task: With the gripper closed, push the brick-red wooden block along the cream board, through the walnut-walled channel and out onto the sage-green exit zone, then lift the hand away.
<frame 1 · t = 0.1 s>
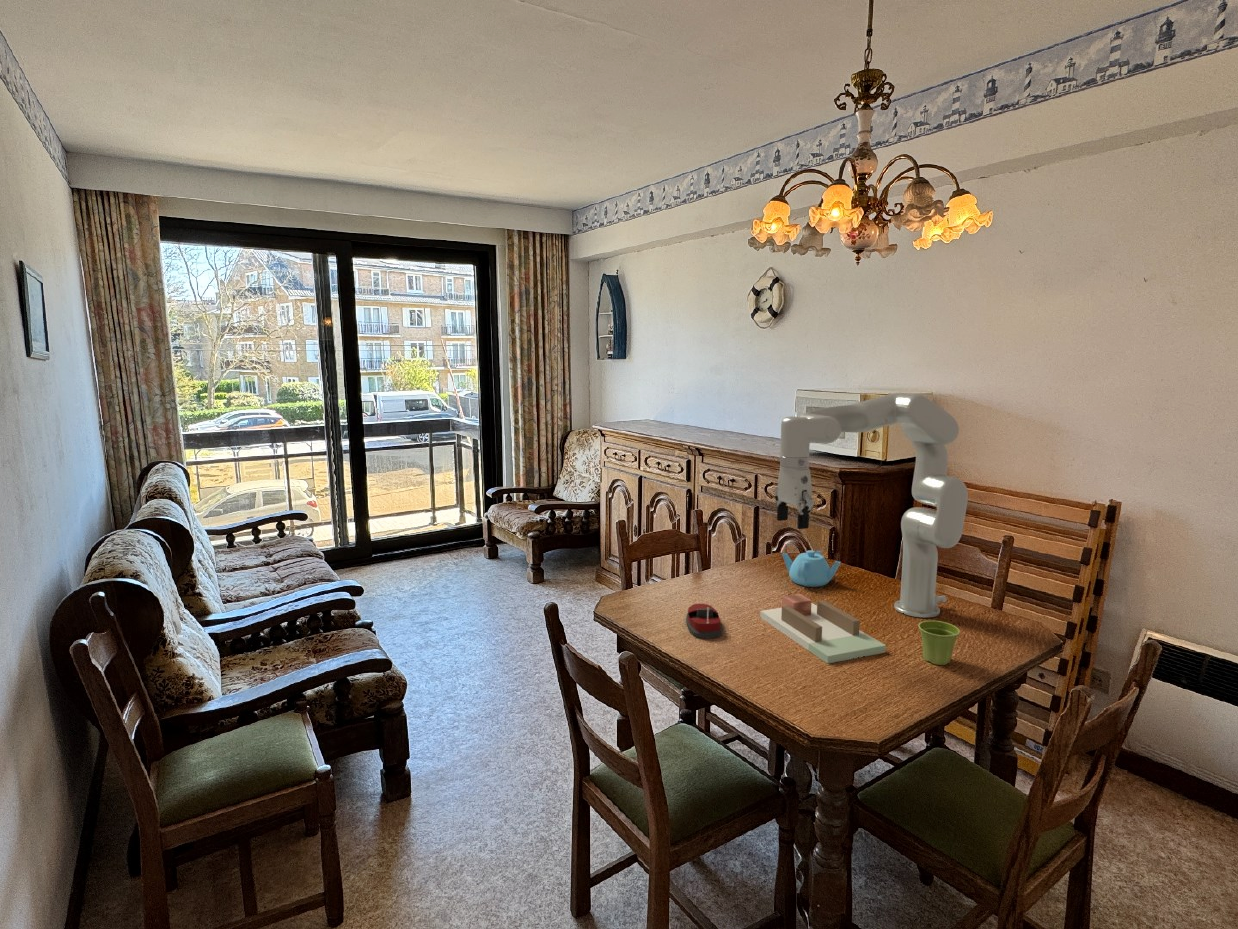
hand: (792, 524, 180), 31 cm above the table, tool pointing down, fingers open, 9 cm apart
board with rails: (818, 633, 184), on the table
bumper car: (704, 629, 189), on the table
block: (796, 612, 194), point 2 cm above the table, touching board with rails
teapot: (810, 581, 227), on the table
plant pot: (936, 660, 167), on the table
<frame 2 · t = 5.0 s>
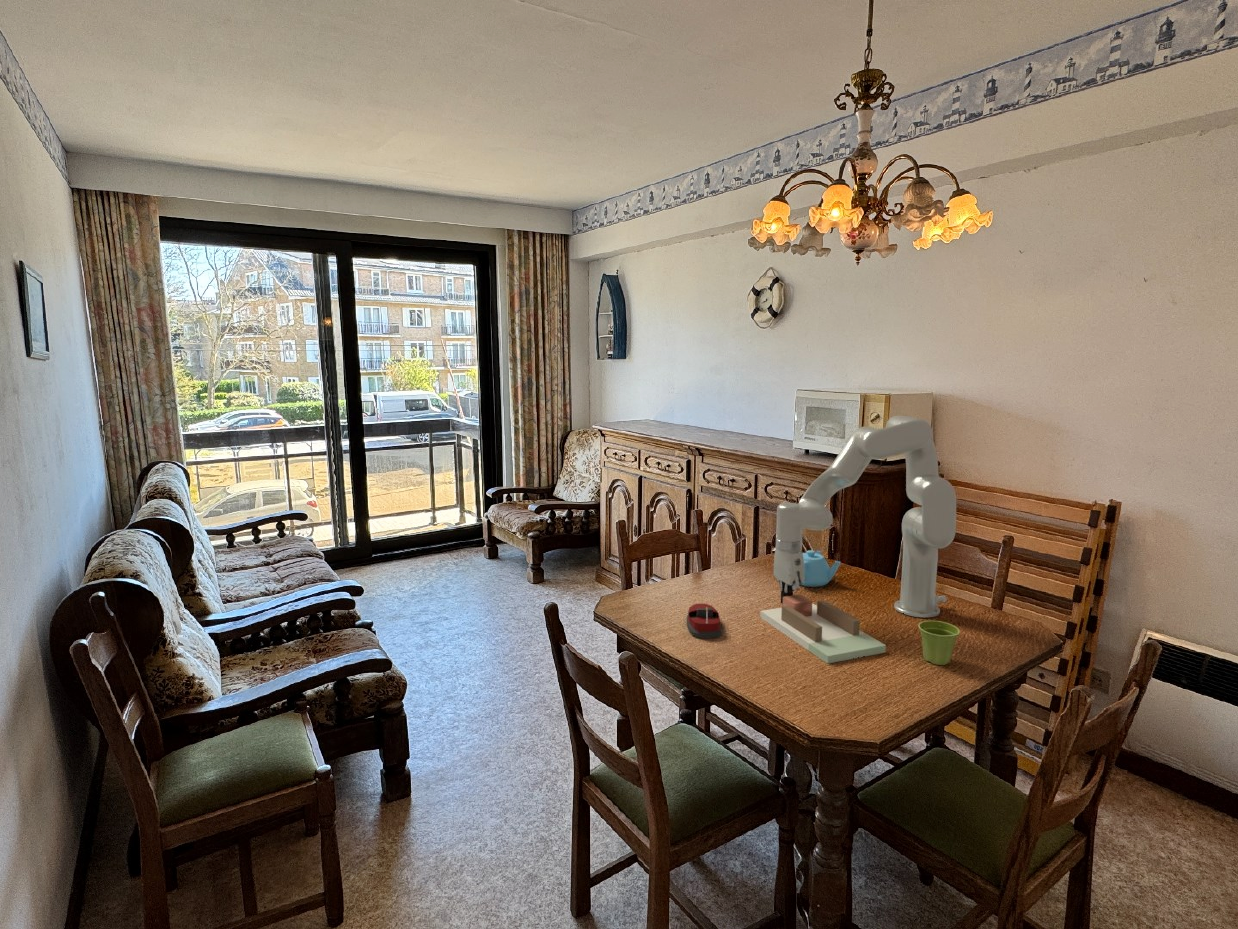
hand: (786, 603, 198), 3 cm above the table, tool pointing down, fingers closed
block: (796, 613, 193), point 2 cm above the table, touching gripper, board with rails
everything else where it was.
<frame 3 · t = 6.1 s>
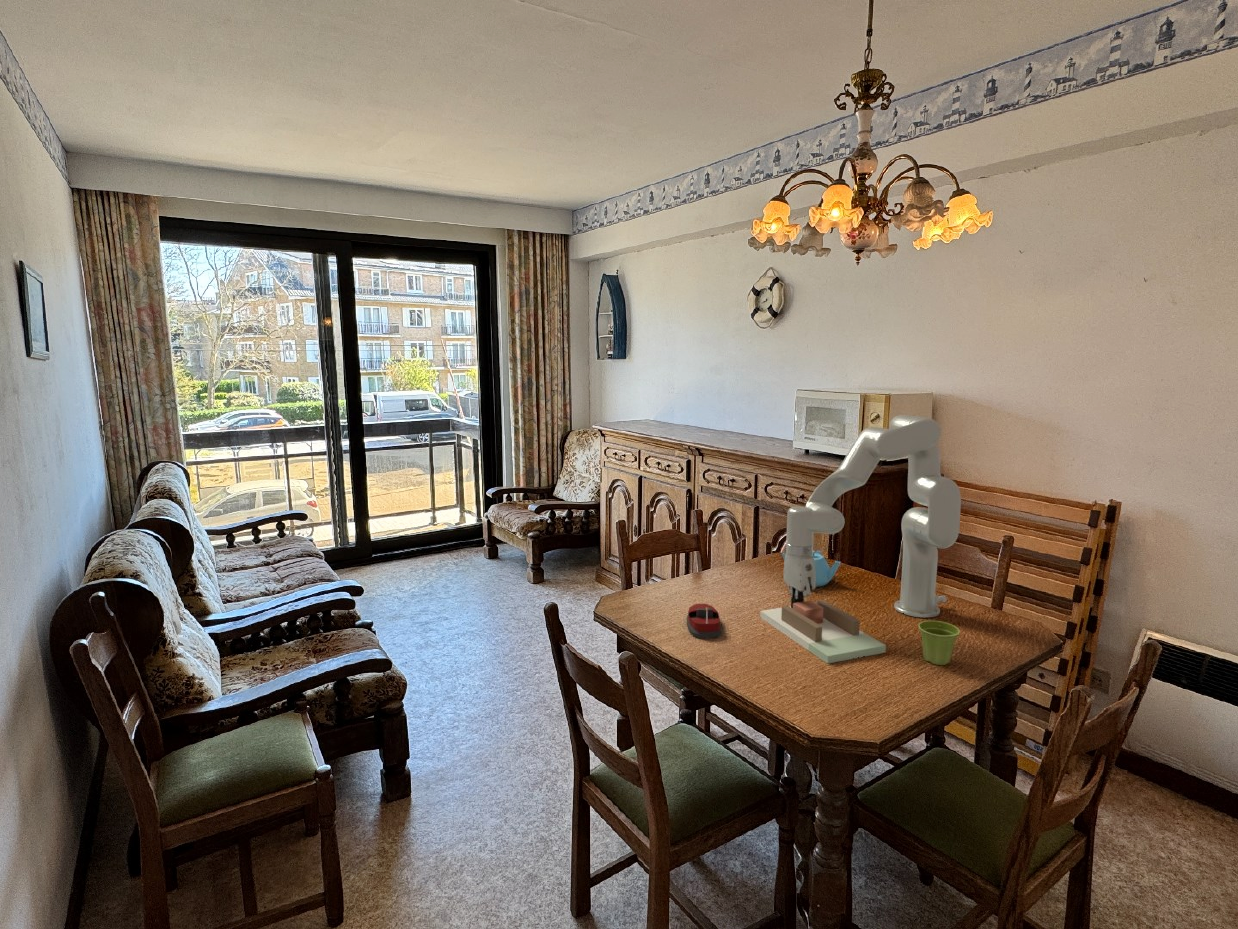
hand: (797, 610, 193), 3 cm above the table, tool pointing down, fingers closed
block: (807, 620, 188), point 2 cm above the table, touching gripper
everything else where it was.
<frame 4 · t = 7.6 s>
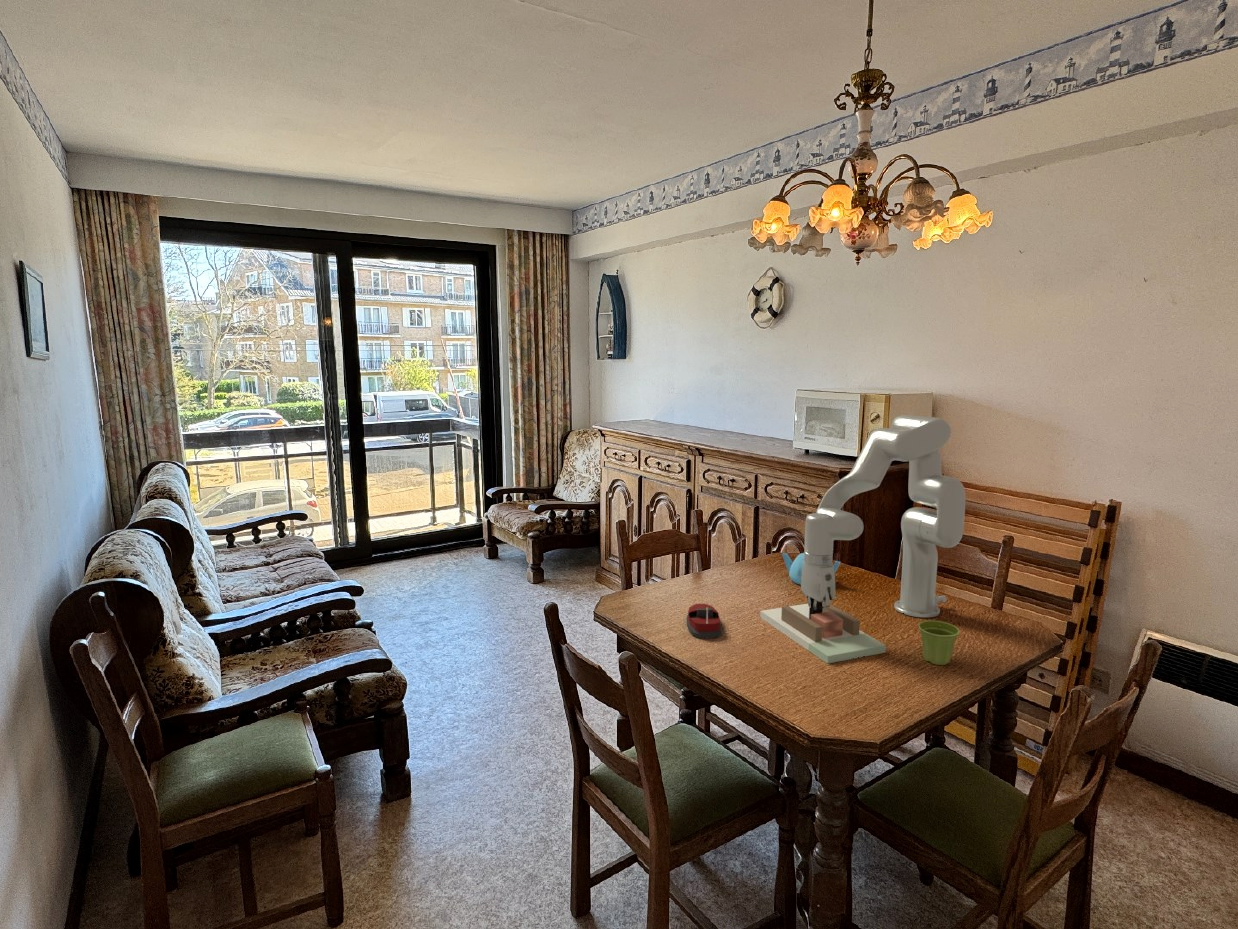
hand: (815, 621, 185), 3 cm above the table, tool pointing down, fingers closed
block: (826, 632, 180), point 2 cm above the table, touching gripper, board with rails
everything else where it was.
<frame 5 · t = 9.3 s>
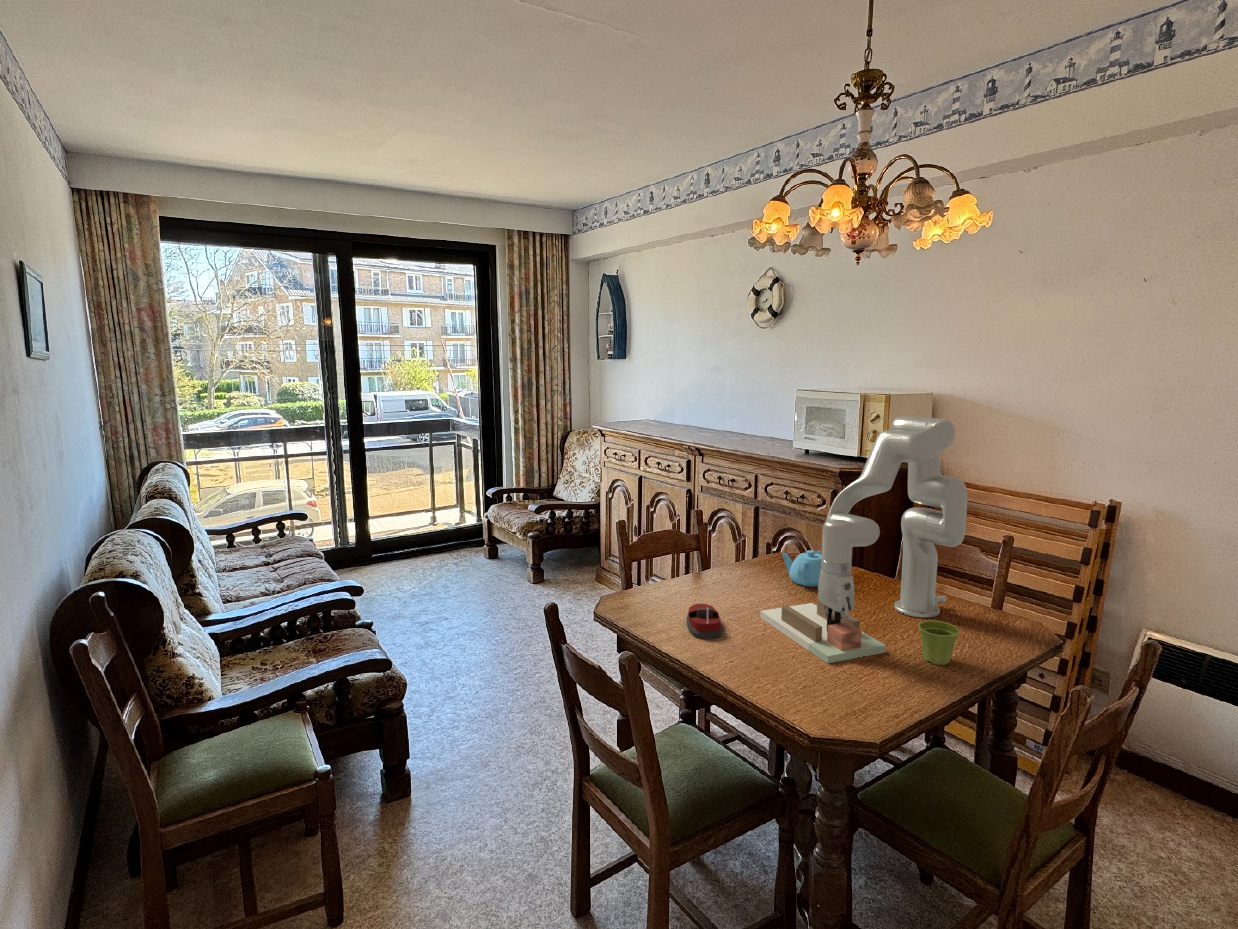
hand: (833, 632, 177), 3 cm above the table, tool pointing down, fingers closed
block: (843, 644, 172), point 2 cm above the table, touching gripper
everything else where it was.
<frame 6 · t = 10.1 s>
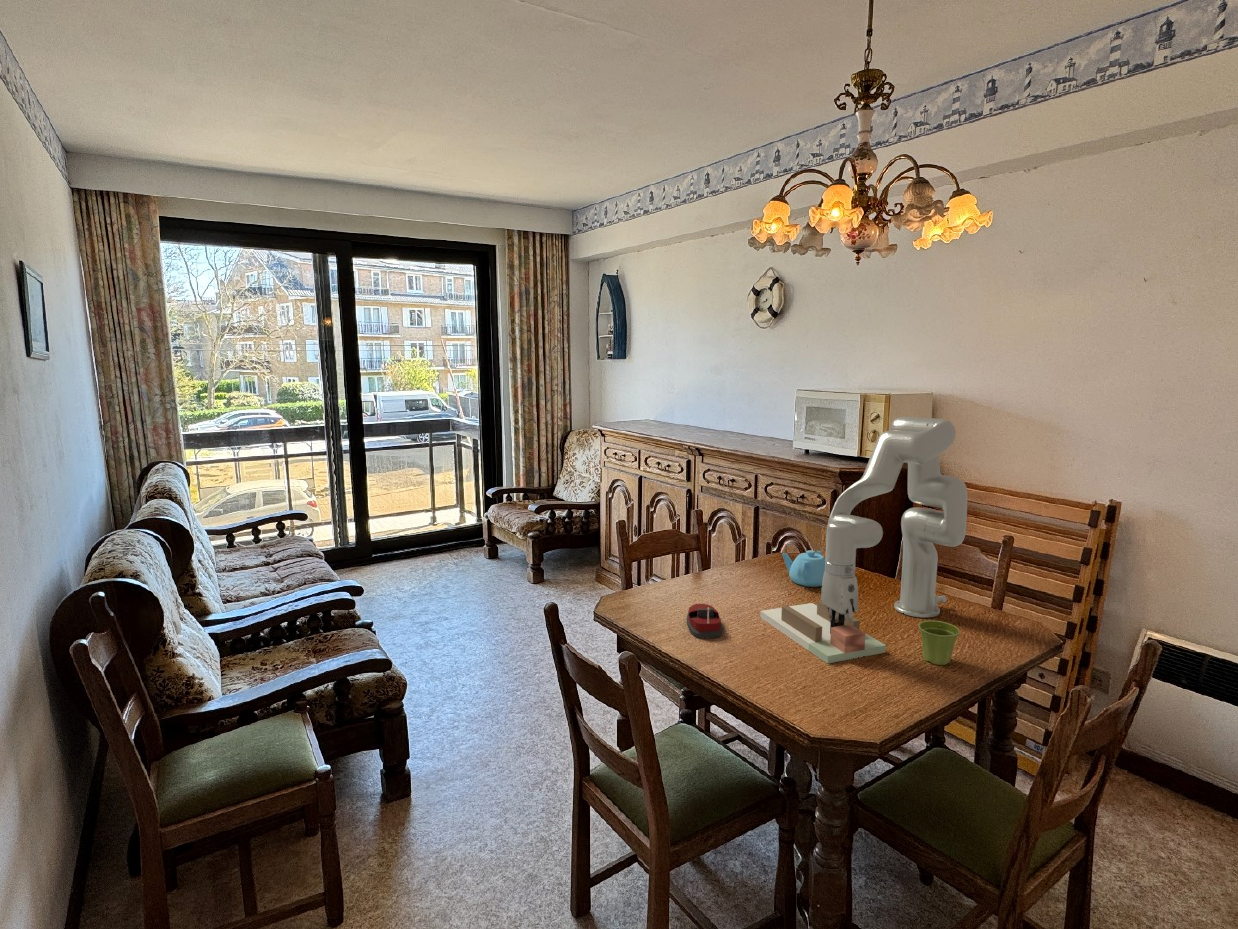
hand: (836, 634, 176), 3 cm above the table, tool pointing down, fingers closed
block: (847, 646, 171), point 2 cm above the table, touching gripper, board with rails
everything else where it was.
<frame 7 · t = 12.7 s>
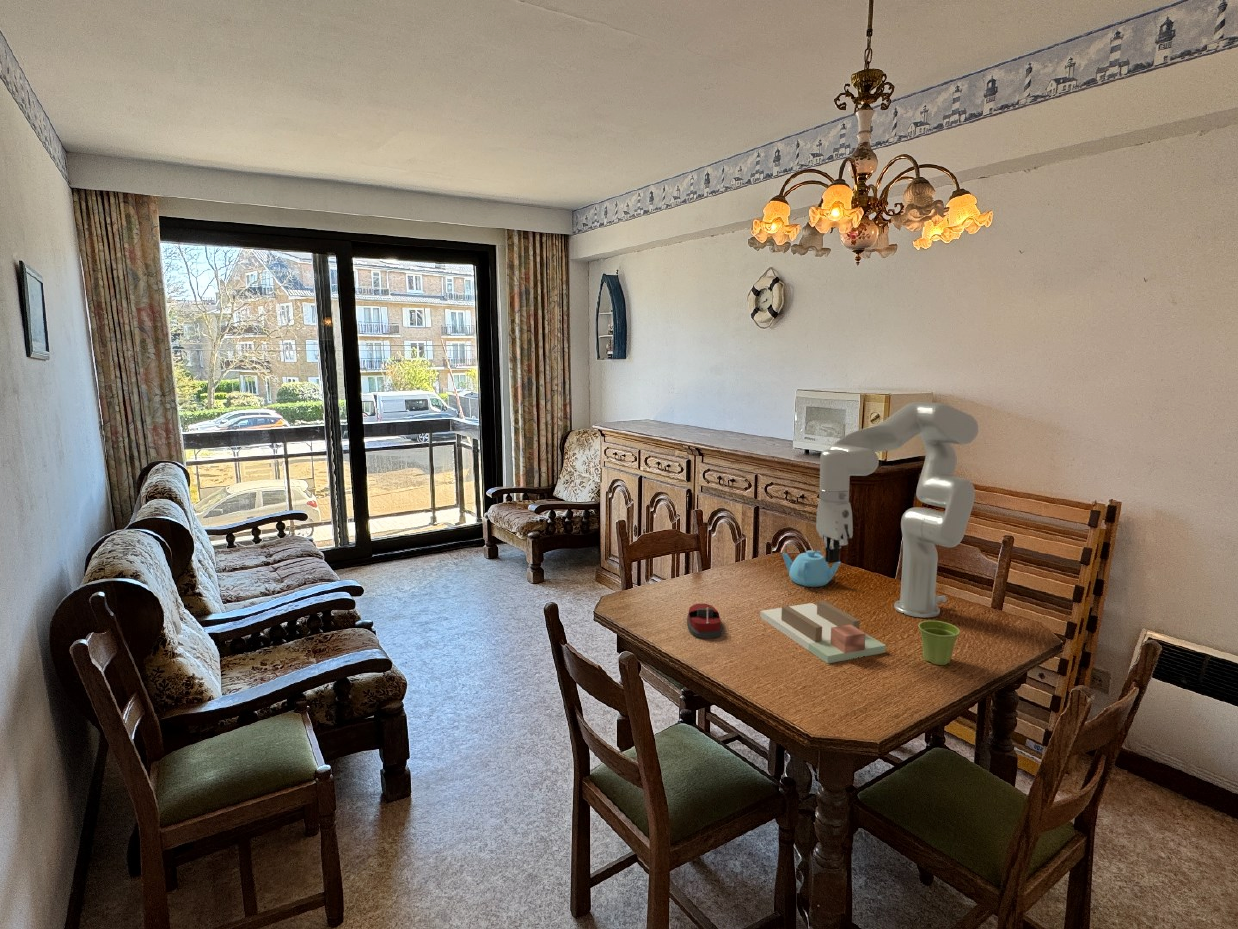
hand: (832, 561, 179), 21 cm above the table, tool pointing down, fingers closed
block: (847, 646, 171), point 2 cm above the table, touching board with rails
everything else where it was.
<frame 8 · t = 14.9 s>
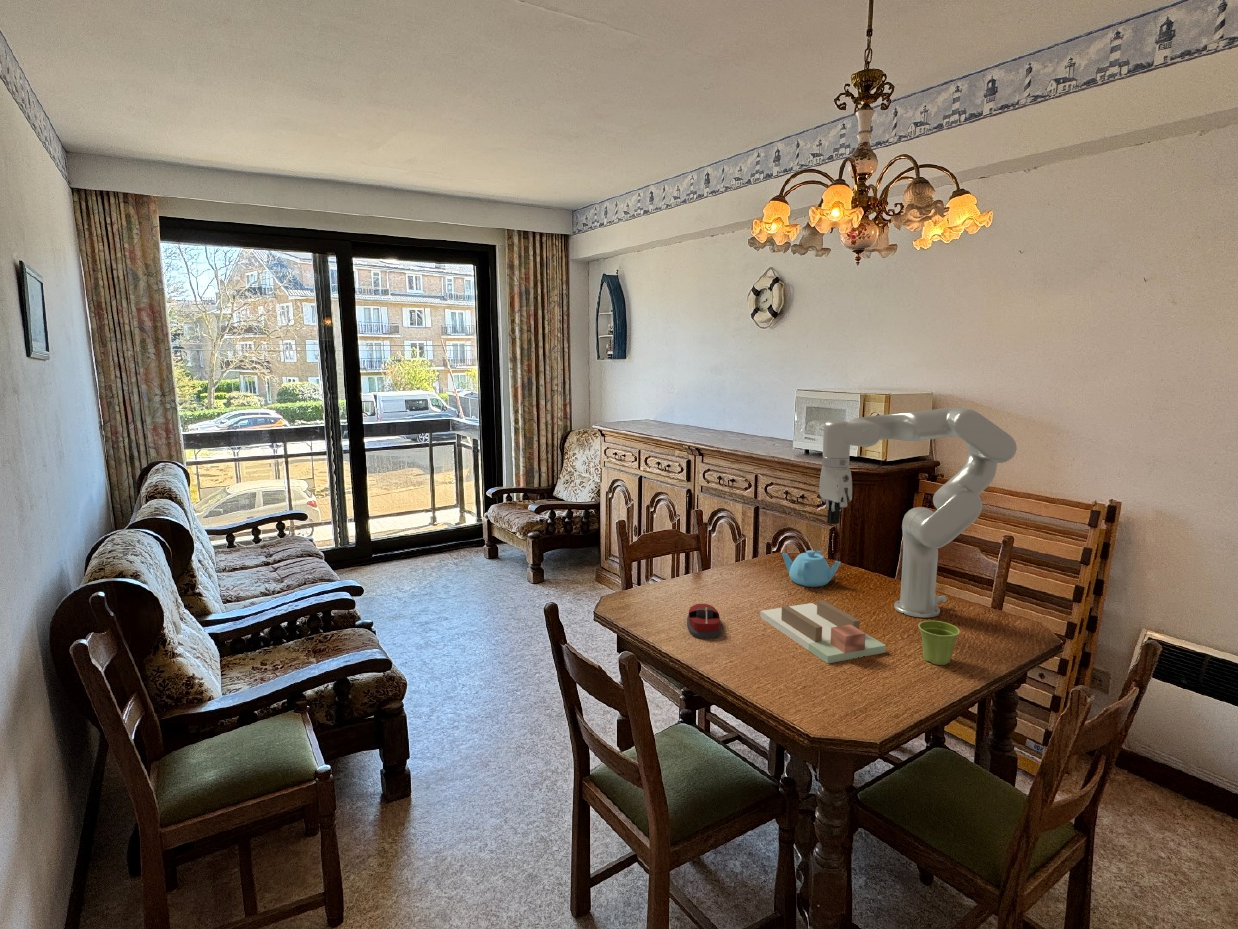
hand: (833, 523, 197), 27 cm above the table, tool pointing down, fingers closed
nothing on the table moved.
at the end: block inside the target area on the board with rails (1.1 cm from its centre), point 2.0 cm above the board with rails's base; block tilted 0° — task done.
